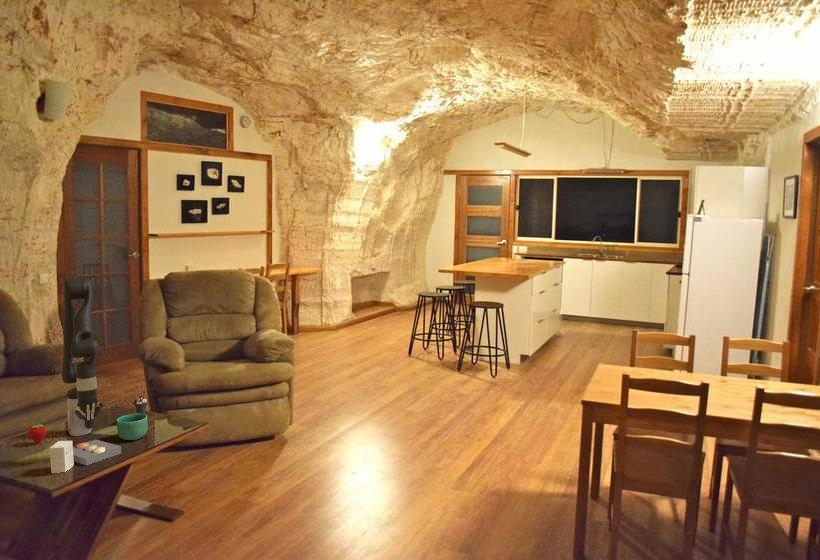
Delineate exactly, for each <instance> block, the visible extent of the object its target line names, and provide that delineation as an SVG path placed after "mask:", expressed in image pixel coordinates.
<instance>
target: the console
mask: <svg viewBox="0 0 820 560" xmlns="http://www.w3.org/2000/svg"><path fill="white" fill-rule="evenodd" d="M86 443H89V445H97V448H98V447H105V452H102V453H99V454H95V453H93V450H92V451H90V452H88V451H85V448H83V449H78V448H77V445H75V446H73V459H74V463H75V462H76V463H75V464H79V463H80V464H79V465H82V464H83V465H82V466H85V465H87V466H90V465H92V463H93V464H95V463H98V462H100V461H104V460H106V458H107V459H109V458H112V457H115V456H117V455H118V456H119V455H120V454H122V446H120V445H117V444H113V443H110V442H106V441H103V440H98V439H92V440H91V441H87V442H86ZM103 459H104V460H103ZM94 462H95V463H94ZM89 464H90V465H89Z"/></svg>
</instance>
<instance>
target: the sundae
mask: <svg viewBox="0 0 820 560" xmlns="http://www.w3.org/2000/svg"><path fill="white" fill-rule="evenodd" d="M145 393H146V391H143V393H142V394H140V395H139V396H137V398H136V399H135V398H133V401H134V402H133V403H132V405H134V407H135V410H136V414H145V415H146V411H147V405H148V403H149V400H147V399H146V396H145Z"/></svg>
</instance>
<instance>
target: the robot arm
mask: <svg viewBox="0 0 820 560" xmlns="http://www.w3.org/2000/svg"><path fill="white" fill-rule="evenodd" d="M73 300H83V304H82V305H81V307H80V309H78V310H76V308H75V306H74V303H73ZM92 308H93V284H92V281H91V280H90V278H87V277H86V278H81V277H80V278H78V277H77V278H71V277H70V278H66V279H65V280H64V282H63V310H64V311H63V330H62V332H63V338H62V339H63V353H62V354H63V355H62V364H61V378H62V379H61V380H62V382H63V383H64V384H65V385H67V384H68V385H69V384H76V386H74V387H73V388H71V389H69V390H68V391H67V393H66V399H67V400H66V401H67V416H66V417H67V418H66V419H67V430H68V434H69V436H73V437H77V436H79V437H80V436H84V435H88V434H90V433H92V429H93V427H94V418H95V417H98V415H99V413H100V412H101V410H102V408H103V406H104V403H102V402H100V401H99V399H98V382H97V375H96V373H97V372H96V361H97V358H98V357H97V356H98V353H99V349H100V344H99V343H98V341H97V340H95V339H90V338H91V337H92V336H93V325H92V324H93V322H92ZM88 357H89V358H88ZM74 358H75V359H79V358H80V359H81V358H82V359H83V358H88V359H87V360H86V361H77V362H76V361H75V362H73V360H74Z"/></svg>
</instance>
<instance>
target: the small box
mask: <svg viewBox="0 0 820 560" xmlns="http://www.w3.org/2000/svg"><path fill="white" fill-rule="evenodd" d="M73 447H74V446H73V440H58V441H57V442H55V443H54V444H53V445H52V446H50V447H49V458H50V471H51V472H50V473H51V474H52V473H53V474H61V473H60V472H66V471H67V470H68V471H69V470H70V469H72V468H73V467H74V466H75V462H74V459H73ZM68 471H67V472H68ZM67 472H66V473H67Z"/></svg>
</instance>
